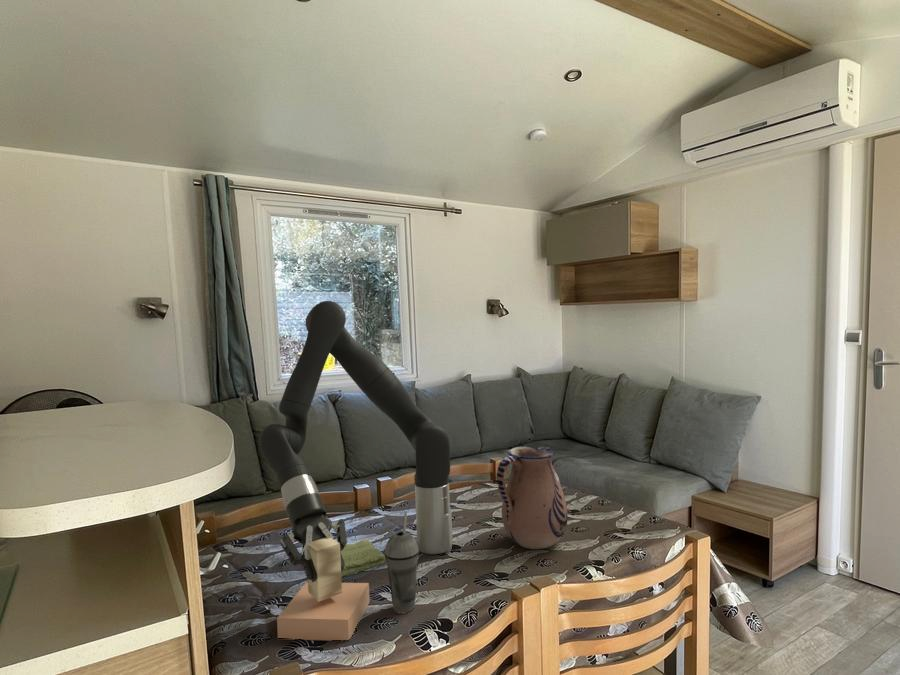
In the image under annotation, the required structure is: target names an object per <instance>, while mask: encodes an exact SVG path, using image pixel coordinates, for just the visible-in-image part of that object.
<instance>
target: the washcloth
mask: <svg viewBox="0 0 900 675" xmlns="http://www.w3.org/2000/svg"><path fill="white" fill-rule="evenodd" d="M341 554H342V557H343V560H344V562H345V566H344V569H343V571H342V572H341V578H342V577H347V576H349V575H352V574H355V573H358V572H362V571H364V570H368V569H370V568H371V569H372V568H375V567H377V566H381V565H383V564H384V563H385V562H386V558H385V555H384V553H382V551H381V550H379V549H378V548H375V545H374V543H373V542H372V541H370V540H368V539H362V540H360V541H356V542H355V543H351V544H346V546H345V547H344V549H343V550H342V551H341Z"/></svg>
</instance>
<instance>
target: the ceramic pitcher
mask: <svg viewBox="0 0 900 675" xmlns="http://www.w3.org/2000/svg"><path fill="white" fill-rule="evenodd" d="M507 454H508V456H505V457H504V458H503V459H502V460H501V461H499V462H498V468H497V469H496V482H497V486H498V491H499V494H500V496H501V498H502V504H501V521H502V524H503V527H504V529H505V531H506V533H507V535H508V536H509V537H510V539H511V540H512V541H513V542H515V544H517V545H519V546H521V547H522V548H525V549H530V550H541V549H542V550H543V549H548V548H550V547H553V546H554V545H555V544H557V543H558V542H559V541H560V540H561V539H562V537H563V536H564V534H565V531H566V529H567V526H568V521H569V520H568V517H569V516H568V507H567V502H566V499H565V494H564V492H563V488H562V486H561V482H560V478H559V476H558V474H557V472H556V471H555V468H554V466H553V464H552V463H553V462H552V461H553V460H552V459H553V458H554V455H555V453H554V452H553V451H551V448H550V447H549V446H538V447H537V448H533V447H531V446H526V445H524V446H516V447H512V448H511V449H508V450H507ZM510 465H512V466H511V470H510V473H509V478H508V481H507V484H506V481H505V474H506V471H507V469H508V466H510Z"/></svg>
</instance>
